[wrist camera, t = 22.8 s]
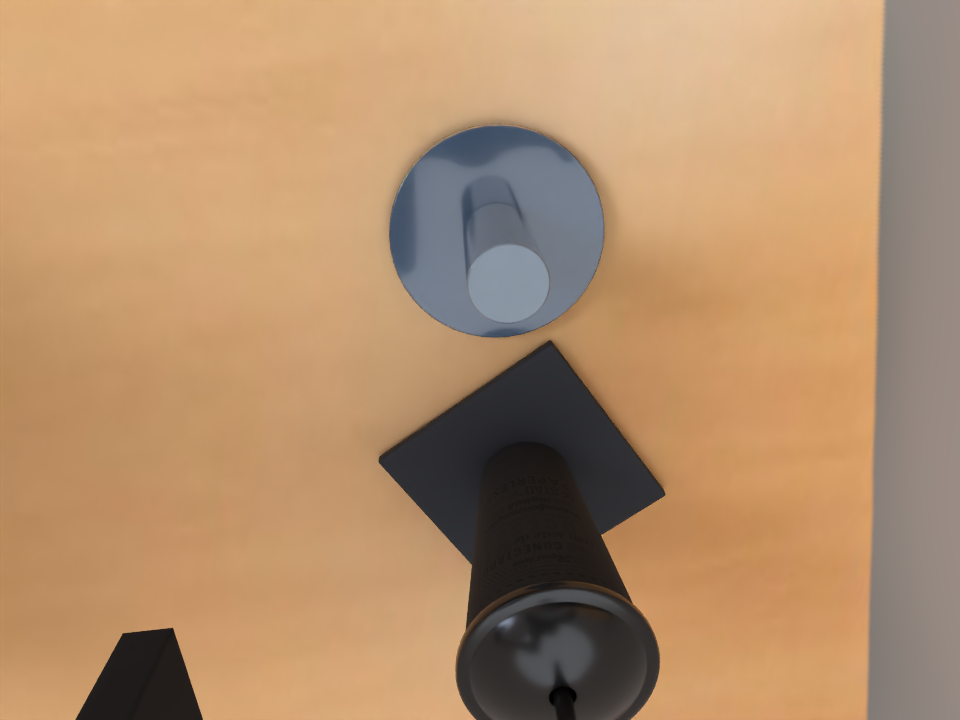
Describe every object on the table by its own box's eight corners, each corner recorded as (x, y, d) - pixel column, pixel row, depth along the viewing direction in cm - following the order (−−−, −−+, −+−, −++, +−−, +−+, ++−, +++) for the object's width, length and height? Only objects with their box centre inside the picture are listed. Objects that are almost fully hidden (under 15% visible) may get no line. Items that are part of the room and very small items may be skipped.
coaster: (378, 456, 42) (378, 462, 41) (550, 339, 40) (551, 343, 39) (500, 590, 46) (500, 597, 45) (663, 489, 43) (666, 495, 43)
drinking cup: (511, 389, 40) (566, 695, 22) (626, 465, 42) (766, 805, 23) (424, 496, 42) (407, 857, 24) (537, 563, 44) (602, 945, 26)
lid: (346, 211, 37) (319, 258, 29) (522, 76, 35) (542, 89, 27) (474, 369, 40) (480, 448, 33) (641, 253, 38) (689, 309, 31)
